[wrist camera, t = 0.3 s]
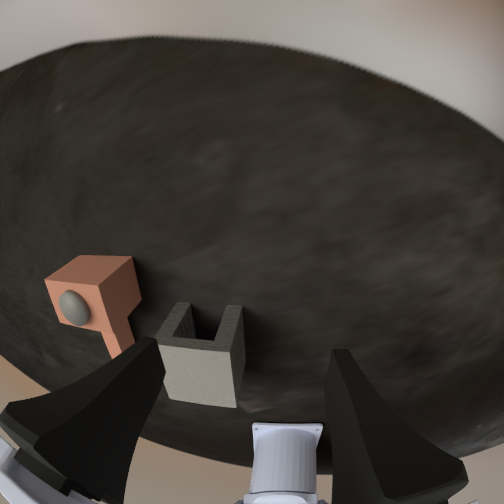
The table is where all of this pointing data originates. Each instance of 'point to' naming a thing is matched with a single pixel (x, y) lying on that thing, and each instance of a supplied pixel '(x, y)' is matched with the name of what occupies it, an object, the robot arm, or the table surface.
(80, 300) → the pink button lever
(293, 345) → the table surface
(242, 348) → the block
